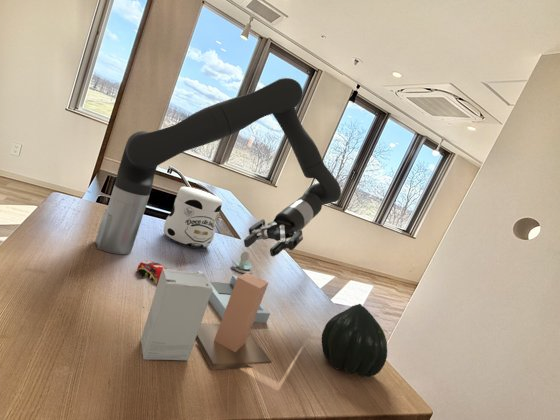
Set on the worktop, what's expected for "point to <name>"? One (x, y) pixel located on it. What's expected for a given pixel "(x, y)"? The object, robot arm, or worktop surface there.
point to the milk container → (193, 218)
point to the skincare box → (175, 315)
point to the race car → (150, 270)
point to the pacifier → (243, 264)
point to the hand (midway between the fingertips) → (258, 248)
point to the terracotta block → (241, 311)
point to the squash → (355, 342)
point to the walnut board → (228, 350)
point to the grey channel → (222, 297)
